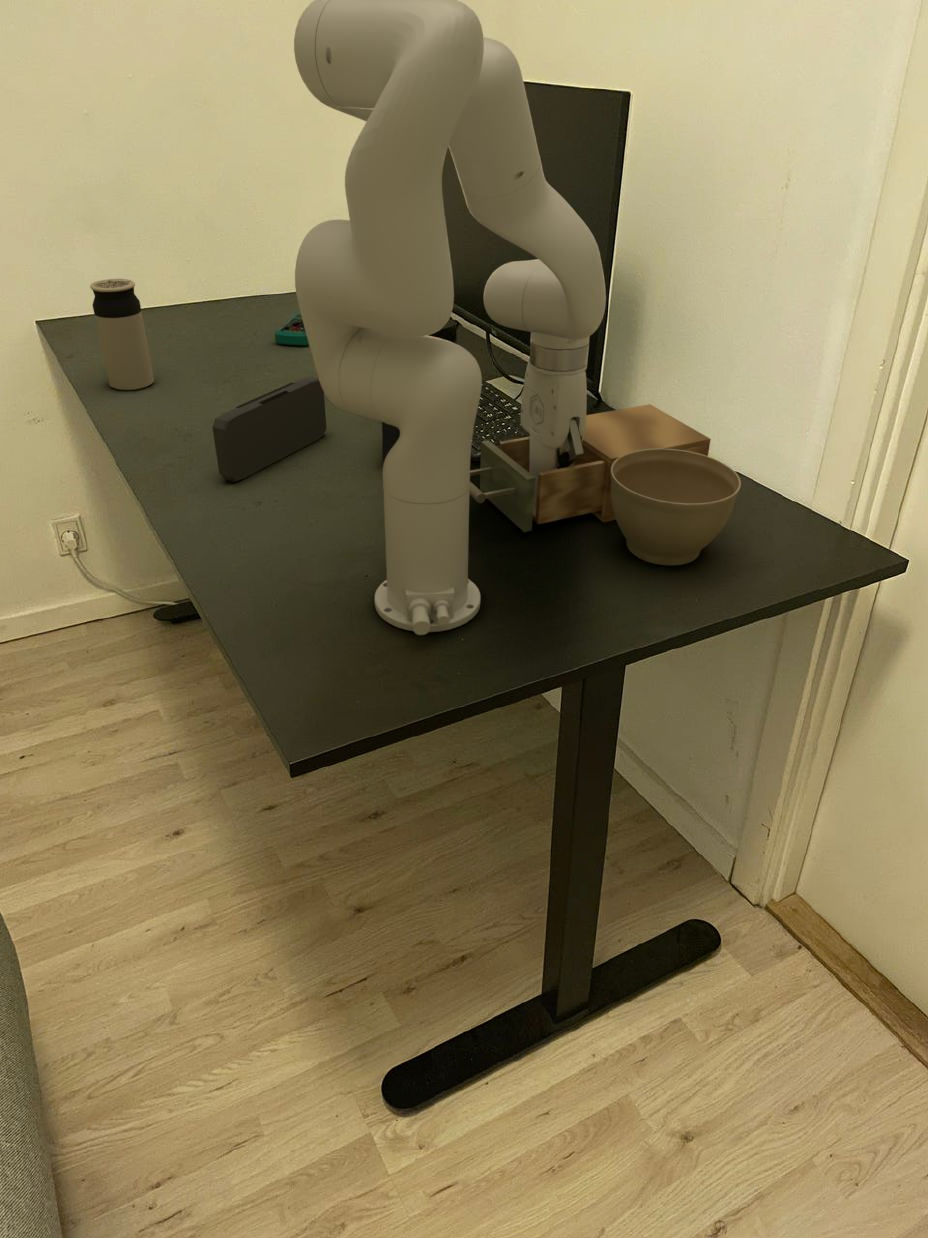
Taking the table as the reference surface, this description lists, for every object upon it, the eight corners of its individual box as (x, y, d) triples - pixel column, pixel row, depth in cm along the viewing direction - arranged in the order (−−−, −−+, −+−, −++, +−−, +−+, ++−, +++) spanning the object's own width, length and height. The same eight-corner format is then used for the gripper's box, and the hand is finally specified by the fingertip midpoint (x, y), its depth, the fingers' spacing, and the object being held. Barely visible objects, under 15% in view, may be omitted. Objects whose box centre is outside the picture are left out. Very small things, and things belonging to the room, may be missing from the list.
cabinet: (603, 522, 126) (610, 458, 121) (550, 480, 137) (555, 420, 132) (700, 500, 133) (711, 438, 127) (642, 462, 143) (650, 403, 138)
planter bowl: (634, 589, 112) (645, 509, 106) (583, 528, 125) (591, 454, 119) (749, 571, 116) (766, 494, 110) (689, 514, 129) (701, 442, 123)
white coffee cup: (566, 508, 126) (572, 440, 120) (520, 500, 127) (523, 433, 122) (577, 488, 131) (583, 422, 125) (532, 481, 132) (536, 415, 127)
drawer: (484, 541, 120) (486, 487, 115) (442, 499, 130) (442, 448, 125) (621, 510, 128) (627, 459, 123) (571, 473, 138) (575, 424, 133)
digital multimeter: (274, 345, 189) (272, 331, 188) (296, 325, 202) (294, 311, 200) (308, 348, 188) (307, 333, 187) (328, 327, 201) (327, 313, 199)
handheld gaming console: (315, 431, 152) (310, 372, 146) (328, 434, 151) (324, 375, 145) (218, 481, 135) (208, 417, 130) (232, 485, 134) (222, 421, 129)
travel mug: (156, 388, 168) (138, 287, 158) (111, 393, 165) (89, 291, 155) (152, 374, 174) (134, 276, 164) (108, 379, 171) (87, 279, 161)
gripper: (503, 340, 123) (498, 465, 133) (566, 379, 110) (556, 514, 121) (551, 333, 125) (543, 456, 136) (619, 371, 113) (604, 503, 123)
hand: (549, 482), depth 128 cm, fingers closed on white coffee cup, 4 cm apart
